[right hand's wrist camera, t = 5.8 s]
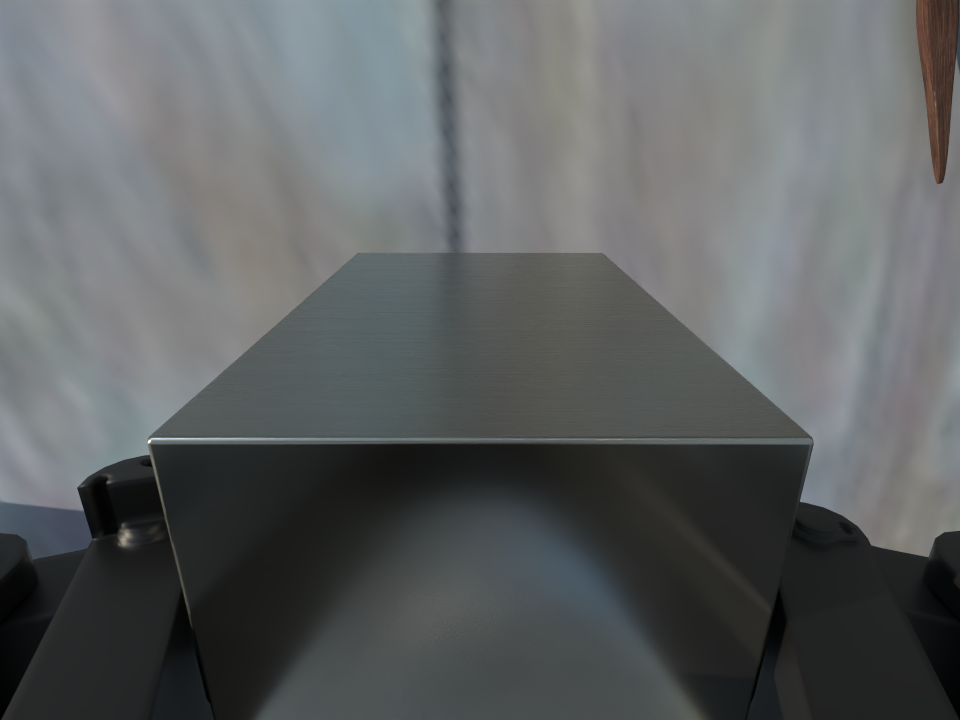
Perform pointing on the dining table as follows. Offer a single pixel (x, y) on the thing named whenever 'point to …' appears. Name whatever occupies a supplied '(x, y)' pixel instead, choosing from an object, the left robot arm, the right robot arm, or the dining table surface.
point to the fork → (938, 71)
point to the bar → (480, 502)
